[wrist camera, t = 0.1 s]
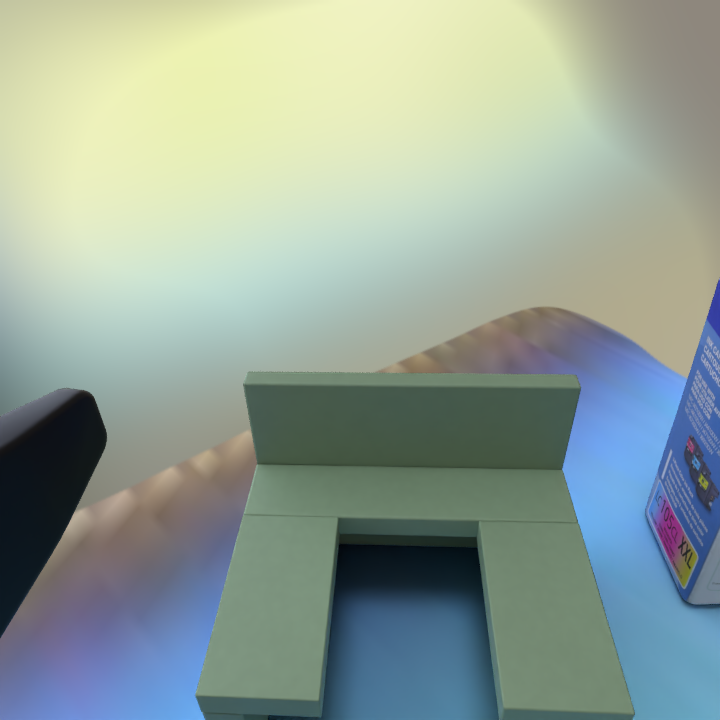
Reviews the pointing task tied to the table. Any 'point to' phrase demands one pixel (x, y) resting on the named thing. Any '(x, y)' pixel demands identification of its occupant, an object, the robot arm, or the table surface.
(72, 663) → the table surface
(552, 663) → the rack
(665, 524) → the ink cartridge box
